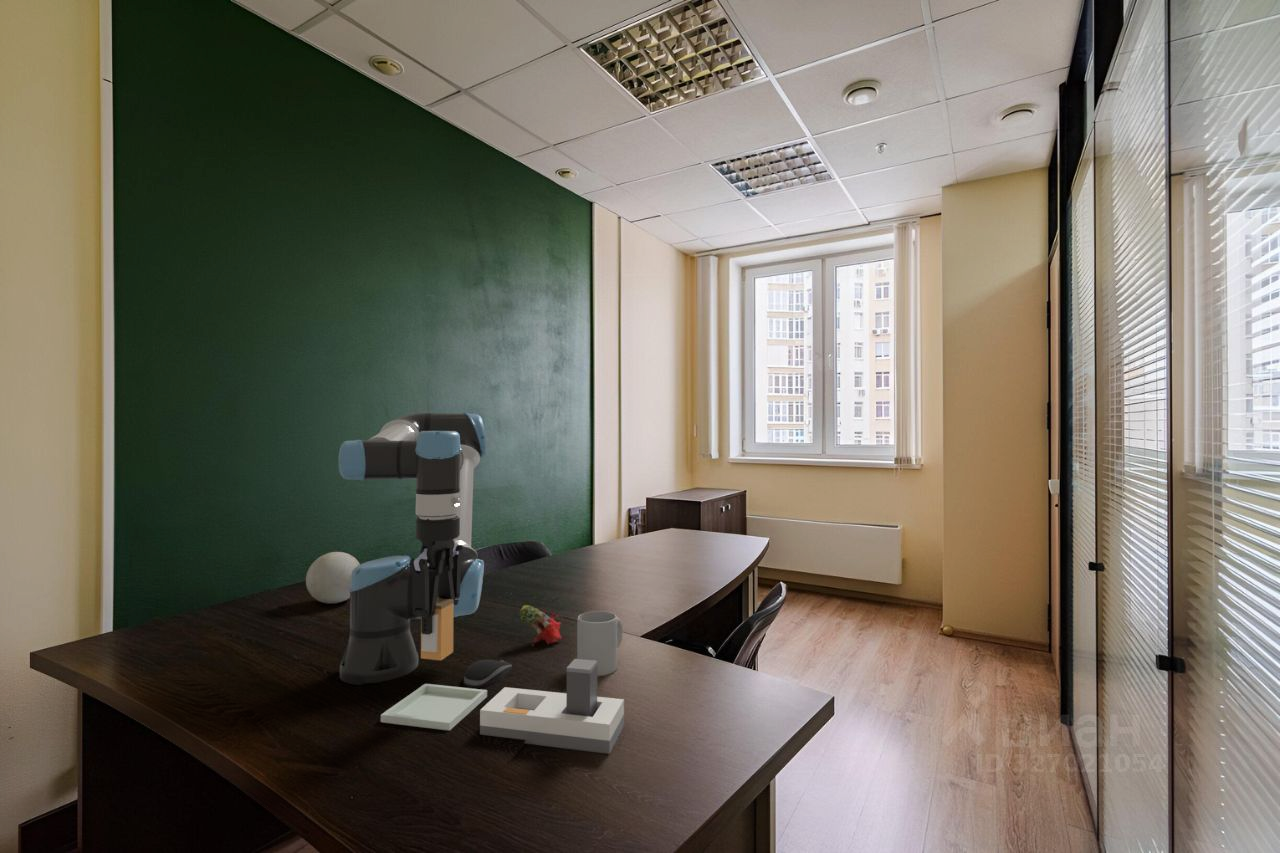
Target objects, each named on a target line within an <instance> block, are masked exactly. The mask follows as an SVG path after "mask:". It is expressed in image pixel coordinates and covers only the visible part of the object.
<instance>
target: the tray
mask: <svg viewBox="0 0 1280 853" xmlns="http://www.w3.org/2000/svg"><path fill="white" fill-rule="evenodd" d="M486 698H488V690H487V689H481V688H480V689H478V688H473V687H460V686H451V685H442V684H433V683H424V684H422V685H421V686H420V687H418V688H417V689H416V690H414V691H413V692H411V693H410V694H409V695H406V697H404V698H403V699H401V700H400V701H398V702H397V703H395V704H394V705H392V706H391V707H389V708H388V709H386V710H385V711H384V712H383V713H381V714H380V723H385V724H393V725H401V726H408V727H415V728H416V727H418V728H425V729H433V730H442V731H451V730H452V729H453V728H454V727H455V726H456V725H458V724H459V723H460V722H461V721H462V720H463V719H464V718H466V717H467V716H468V715H469V714H470V713H471V712H472V711H473V710H474V709H475V708H477V706H478V705H480V704H481V703H483V701H484V700H486Z"/></svg>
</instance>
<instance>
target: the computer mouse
mask: <svg viewBox="0 0 1280 853" xmlns="http://www.w3.org/2000/svg"><path fill="white" fill-rule="evenodd" d="M512 669H513V665H512V663H510V662H508V661H504V660H503V659H501V660H495V659H482V660H476V661H474V662H472V663H471V664H470V665H469V666H468V667H467V669H466V670H465V673H464V676H463V685H464V686H465V687H467V688H473V689H478V688H484V687H487V686H490V685H492V684H495V683H497V682H499V681H500V680H502V679H503V678H504V677H506V675H507V674H508V673H510V671H511V670H512Z"/></svg>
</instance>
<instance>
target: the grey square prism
mask: <svg viewBox="0 0 1280 853" xmlns="http://www.w3.org/2000/svg"><path fill="white" fill-rule="evenodd" d="M566 693H567V700H566V714H571V715H580V716H589V717H593V716H594V714H595V713H596V711H597V697H598V676H597V661H595V660H583V659H577V658H574V659H573V660H572V661H571V662H570V663H569V665H568V666H567V667H566Z"/></svg>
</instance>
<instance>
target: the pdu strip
mask: <svg viewBox="0 0 1280 853" xmlns="http://www.w3.org/2000/svg"><path fill="white" fill-rule="evenodd" d="M566 700H567V692H556V691H555V692H554V691H547V690H546V691H545V690H536V689H527V688H519V687H518V688H516V687H509V686H508V687H506V686H505V687H503V688H502V689H500V691H499V692H498V693H496V695H494V696H493V698H491V699H490V700H489V701H488V702H487V703H486V704H485V705H484V706H483V707H482V708H481V709H480V710H479V715H480V716H479V735H482V736H483V735H484V736H492V737H498V738H507V739H514V740H515V739H516V740H524V741H523V744H527V745H534V746H535V745H536V746H543V747H552V748H559V749H566V750H567V749H568V750H576V751H582V752H583V751H584V752H592V753H599V754H608V755H610V754H611V753H612V750H613V748H614V746H615V744H616V743H617V741H618V739H619V737H620V734H621V733H622V731H623V729H624V728H625V698H613V697H605V696H597V711H596V713H595V714H594V716H593V717H589V716H580V715H571V714H566Z"/></svg>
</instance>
